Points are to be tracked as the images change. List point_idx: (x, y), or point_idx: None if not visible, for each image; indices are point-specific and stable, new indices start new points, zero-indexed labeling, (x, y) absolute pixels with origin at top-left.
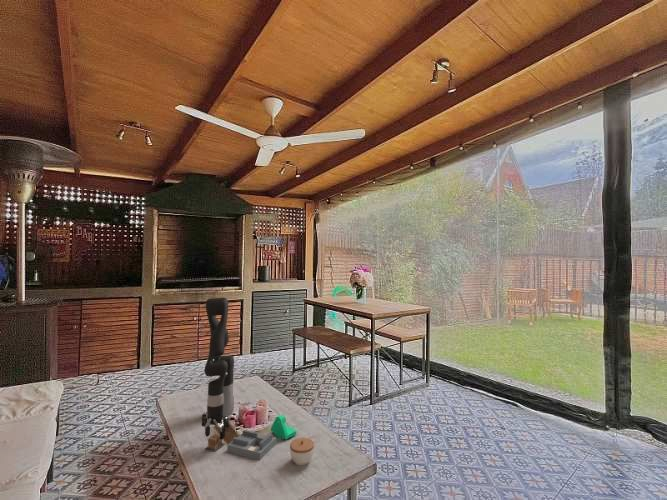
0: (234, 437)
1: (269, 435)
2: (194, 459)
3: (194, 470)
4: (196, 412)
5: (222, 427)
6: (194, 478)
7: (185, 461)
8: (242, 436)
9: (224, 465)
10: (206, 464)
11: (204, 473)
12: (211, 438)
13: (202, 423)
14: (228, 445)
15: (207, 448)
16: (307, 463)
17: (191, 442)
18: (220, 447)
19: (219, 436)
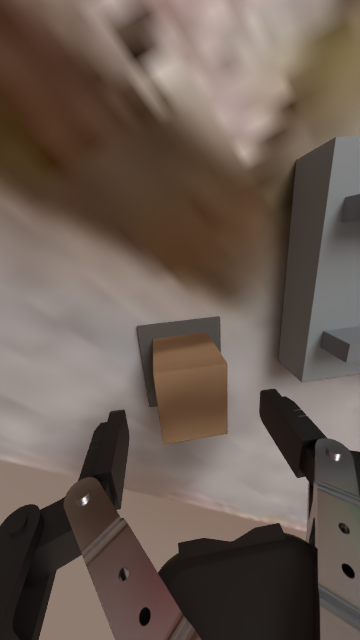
0: (353, 349)
1: None
2: (173, 468)
3: (232, 498)
4: None
5: (318, 475)
6: (264, 514)
7: (150, 491)
8: (352, 247)
9: (325, 431)
10: (249, 461)
11: (279, 489)
12: (185, 433)
13: (24, 603)
14: (309, 380)
15: None
16: None
17: (5, 400)
18: None
19: (223, 389)
